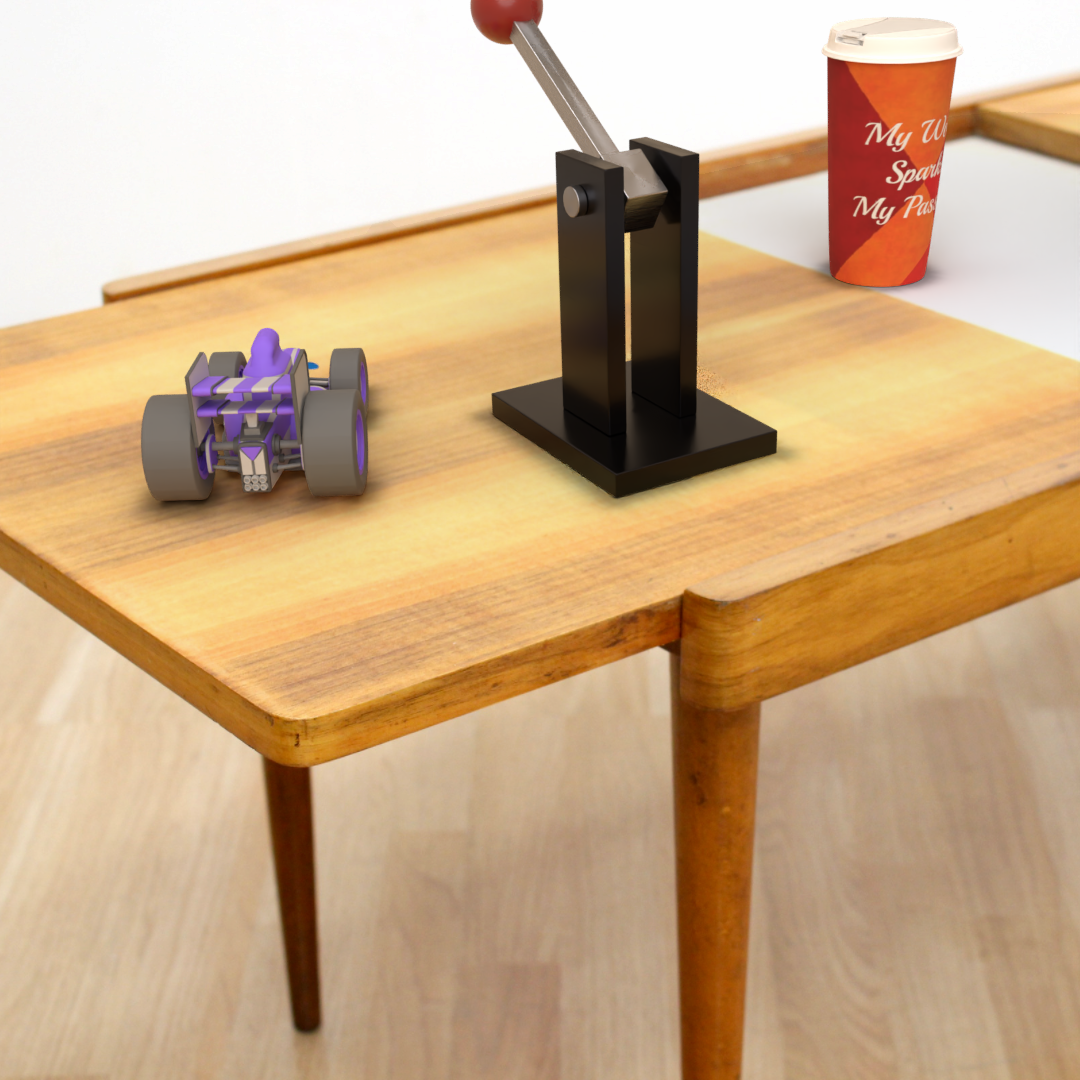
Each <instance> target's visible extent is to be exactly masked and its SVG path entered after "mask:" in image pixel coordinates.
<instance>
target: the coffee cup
mask: <svg viewBox="0 0 1080 1080" xmlns="http://www.w3.org/2000/svg"><path fill="white" fill-rule="evenodd" d="M827 39H828V40H827V43H826V44H824V45H823V47H822V48H821V54H822V55H823V56H825V57H826V68H827V70H826V71H827V73H826V74H827V75H826V76H827V77H826V80H827V83H826V85H827V88H826V89H827V90H826V91H827V92H826V93H827V218H828V219H827V220H828V222H827V224H828V228H827V229H828V262H829V271H830V272H829V273H830V275H831V276H832V277H833V278H835V279H836V280H838V281H841V282H844V283H846V284H851V285H855V286H862V287H876V288H885V287H886V288H887V287H889V288H890V287H899V286H906V285H910V284H913V283H916V282H919V281H920V280H922V279H923V278H924V277H925V275H926V272H927V271H926V270H927V266H928V262H929V261H928V260H929V255H930V248H931V243H932V234H933V230H934V229H933V228H934V223H935V222H934V221H935V217H936V208H937V201H938V194H939V186H940V180H941V174H942V166H943V159H944V152H945V146H946V138H947V130H948V124H949V117H950V116H949V115H950V111H951V103H952V96H953V88H954V81H955V73H956V66H957V59H958V57H960V56H961V55H963V54H964V48H963V46H962V45H961V44H960V43H959V37H958V30H957V28H956V26H955V25H954V24H953V23H951V22H948V21H945V20H939V19H931V18H921V17H901V16H900V17H899V16H897V17H896V16H895V17H894V16H893V17H892V16H888V17H886V16H885V17H884V16H883V17H866V18H857V19H850V20H849V19H848V20H844V21H840V22H836V23H835V24H833V25H832V26H831V28H830V29H829V35H828V38H827Z"/></svg>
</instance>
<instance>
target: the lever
mask: <svg viewBox="0 0 1080 1080" xmlns="http://www.w3.org/2000/svg"><path fill="white" fill-rule="evenodd" d="M469 3H470V4H469V5H470V6H469V7H470V8H469V9H470V15H471V19H472V21H473V23H474V26H475V27H476V29H477V30H478V32H479V33H480V34H481V35H482V36H483V37H484V38H486V39H487V40H489V41H490V42H492V43H495V44H499V45H505V46H506V45H509V46H510V45H513V46H514V47H515V48H516V50H517V52H518V54H519V55H520V56H521V58H522V60H523V61H524V63H525V64H526V66H527V68H528V69H529V71H530V72H531V74H532V75H533V77H534V78H535V80H536V82H537V83H538V85H539V86H540V88H541V89H542V91H543V92H544V94H545V96H546V97H547V99H548V100H549V102H550V103H551V105H552V107H553V109H555V111H556V113H557V114H558V116H559V117H560V119H561V120H562V122H563V124H564V125H565V127H566V128H567V130H568V132H569V133H570V134H571V136H572V138H573V139H574V141H575V143H576V144H577V145H578V147H579V149H580V150H581V152H583V153H586V154H588V155H591V156H594V157H597V158H600V159H603V160H605V161H608V162H611V163H614V164H617V165H619V166H622V167H624V234H630V232H635V231H640V230H645V229H650V228H653V227H654V225H655V222H656V220H657V217H658V215H659V212H660V210H661V208H662V205H663V203H664V200H665V198H666V196H667V193H668V189H667V188H666V186H665V185H664V183H663V182H662V180H661V179H660V177H659V176H658V174H657V173H656V171H655V170H654V168H653V167H652V165H651V164H650V162H649V161H648V159H647V158H646V156H645V155H644V153H643V152H642V150H641V149H634V150H629V149H628V150H622V151H620V150H619V149H618V147H617V146H616V144H615V142H614V141H613V139H612V138H611V136H610V135H609V133H608V132H607V130H606V128H605V127H604V125H603V124H602V123H601V121H600V119H599V118H598V116H597V115H596V113H595V112H594V110H593V109H592V108H591V106H590V104H589V103H588V101H587V100H586V99H585V97H584V95H583V94H582V92H581V91H580V88H579V87H578V86H577V83H575V82H574V80H573V78H572V76H570V74H569V72H568V70H567V69H566V67H565V65H563V63H562V61H561V60H560V59H559V57H558V55H557V54H556V52H555V51H554V50H553V47H552V46H551V45H550V43H549V42H548V40H547V38H546V37H545V35H544V34H543V32H542V31H541V29H540V28H539V25H540V23H541V21H542V18H543V14H544V0H470V2H469Z"/></svg>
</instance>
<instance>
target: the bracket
mask: <svg viewBox="0 0 1080 1080" xmlns="http://www.w3.org/2000/svg"><path fill="white" fill-rule="evenodd" d="M634 149H641V150H642V152H643V153H644V155H645V156H646V158H647V159H648V161H649V162H650V164H651V165H652V167H653V168H654V170H655V171H656V173H657V174H658V176H659V177H660V179H661V180H662V182H663V183H664V185H665V186H666V188H667V189H668V193H667V196H666V198H665V200H664V203H663V205H662V208H661V210H660V212H659V215H658V217H657V220H656V222H655V225H654V227H653V228H650V229H645V230H640V231H635V232H629V270H630V271H629V276H630V277H629V279H630V283H629V284H630V285H629V286H630V288H629V289H630V291H629V294H630V359H629V360H627V342H626V337H627V336H626V335H627V333H626V327H627V326H626V257H625V256H626V253H625V252H626V251H625V250H626V249H625V248H626V247H625V245H626V244H625V243H626V240H625V237H626V236H625V233H624V167H622V166H619V165H617V164H614V163H611V162H608V161H605V160H603V159H600V158H597V157H594V156H591V155H588V154H586V153H583V152H582V151H580V150H577V149H574V148H570V149H565V150H564V149H563V150H558V151H555V153H554V156H555V157H554V158H555V188H556V189H555V191H556V192H555V193H556V222H557V253H558V255H557V256H558V259H557V260H558V286H559V287H558V289H559V291H558V292H559V320H560V347H561V348H560V353H561V355H560V356H561V376H559V377H554V378H549V379H546V380H542V381H538V382H537V381H536V382H533V383H529V384H525V385H521V386H516V387H512V388H507V389H504V390H500V391H494V392H491V394H490V395H491V410H492V411H491V413H492V415H493V416H494V417H495V418H497V419H498V420H499V421H502V423H504V424H506V425H507V426H509V427H510V428H512V429H513V430H515V431H516V432H518V433H519V434H521V435H522V436H524V437H525V438H527V439H528V440H529V441H531V442H532V443H534V444H535V445H537V446H539V447H540V448H541V449H543V450H544V451H546V452H547V453H548V454H551V456H552V457H555V458H556V459H558V460H560V461H561V462H562V463H564V464H565V465H567V466H568V467H569V468H571V469H573V470H574V471H575V472H577V473H578V474H580V475H582V476H583V477H584V478H586V479H588V480H589V481H590V482H592V483H593V484H595V485H596V486H598V487H599V488H601V489H602V490H604V492H606V493H608V494H610V495H611V496H613V497H614V498H616V499H618V498H622V497H625V496H629V495H632V494H635V493H640V492H643V491H647V490H650V489H653V488H657V487H661V486H664V485H668V484H671V483H675V482H679V481H682V480H685V479H689V478H693V477H697V476H700V475H703V474H708V473H711V472H714V471H718V470H723V469H724V468H728V467H733V466H736V465H739V464H743V463H747V462H750V461H753V460H757V459H761V458H764V457H769V456H772V455H775V454H777V453H778V430H777V429H775V428H773V427H772V426H769V425H768V424H766V423H765V422H762V421H761V420H759V419H756V418H754V417H752V416H751V415H749V414H747V413H746V412H743V411H741V410H739V409H738V408H736V407H735V406H732V405H730V404H728V403H726V402H724V401H722V400H721V399H719V398H716V397H715V396H713V395H711V394H709V393H707V392H705V391H703V390H701V389H700V388H698V325H699V324H698V323H699V322H698V321H699V320H698V319H699V318H698V317H699V316H698V315H699V312H698V311H699V235H700V233H699V230H700V229H699V228H700V223H699V222H700V153H698V152H695V151H692V150H690V149H685V148H683V147H679V146H676V145H674V144H670V143H668V142H664V141H660V140H658V139H654V138H652V137H648V136H642V137H637V138H631V139H628V150H634Z"/></svg>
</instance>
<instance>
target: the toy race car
mask: <svg viewBox="0 0 1080 1080" xmlns="http://www.w3.org/2000/svg"><path fill="white" fill-rule="evenodd" d="M307 353H308V352H307V351H306V349H305V348H299V347H286V348H281V346H280V336H279V333H278V332H277V331H276V330H275V329H273V328H271V327H264V328H261V329H260V330H259V331H258V332H257V334H256V335H255V337H254V339H253V342H252V344H251V347H250V357H249V359H248V361H247V358H246V356H245V354H244V352H242V351H239V350H236V351H233V350H232V351H214V352H212V353H211V355H210V356H209V359H208V357H207V355H206V353H205V352H204V351H199V352H198V353H197V356H196V357H195V359H194V360H193V362H192V364H191V365H190V367H189V369H187V372H186V374H185V375H184V384H185V389H186V393H175V394H169V393H168V394H153V395H151V396H150V397H149V398H148V400H147V401H146V403H145V406H144V410H143V415H142V420H141V427H140V428H141V429H140V453H141V454H140V455H141V461H142V462H141V463H142V469H143V475H144V479H145V482H146V485H147V488H148V490H149V493H150V494H151V496H152V498H153V499H154V500H156V501H160V502H163V501H164V502H165V501H200V500H202V501H203V500H207V499H208V498H209V497H210V495H211V493H212V490H213V487H214V483H215V477H216V470H222V471H227V472H229V473H237V474H238V475H240V481H241V488H242V492H243V493H244V494H251V493H253V494H254V493H255V494H257V493H258V494H259V493H271V492H272V490H273V488H274V487H275V485H276V484H277V482H278V480H279V479H280V477H281V475H282V474H283V472H290V471H291V472H293V471H296V472H297V471H304V477H305V480H306V484H307V487H308V490H309V492H310V495H312V496H313V497H346V496H347V497H348V496H349V497H351V496H362V495H363V494H364V492H365V489H366V485H367V481H368V473H369V433H368V422H367V415H368V410H369V401H370V393H369V392H370V390H369V389H370V387H369V386H370V385H369V384H370V383H369V371H368V370H369V369H368V363H367V358H366V354H365V351H364V349H363V348H362V347H337V348H334V349H332V351H331V355H330V359H329V369H328V372H329V373H328V377H316V376H315V377H314V376H313V377H311V376H310V371H312V370H313V371H314V370H318V369H319V368H320V365H319V364H318V363H317V362H315V361H309V359H308V354H307ZM215 424H216V425H223V432H222V435H221V441H217V439H216V437H217V436H216V429H215ZM219 452H223V455H221V453H219ZM221 460H224V463H225V465H221V464H219V461H221Z"/></svg>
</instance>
